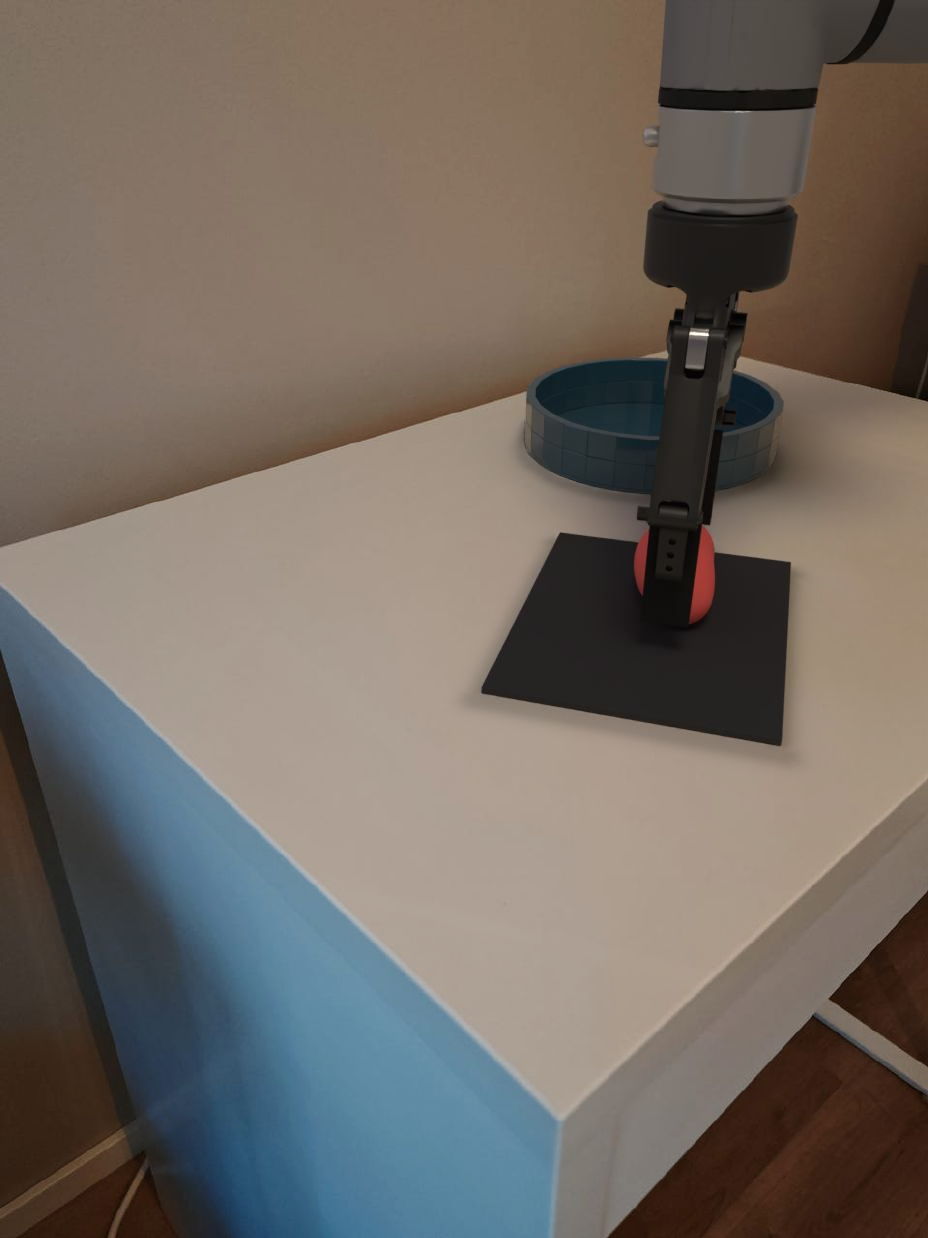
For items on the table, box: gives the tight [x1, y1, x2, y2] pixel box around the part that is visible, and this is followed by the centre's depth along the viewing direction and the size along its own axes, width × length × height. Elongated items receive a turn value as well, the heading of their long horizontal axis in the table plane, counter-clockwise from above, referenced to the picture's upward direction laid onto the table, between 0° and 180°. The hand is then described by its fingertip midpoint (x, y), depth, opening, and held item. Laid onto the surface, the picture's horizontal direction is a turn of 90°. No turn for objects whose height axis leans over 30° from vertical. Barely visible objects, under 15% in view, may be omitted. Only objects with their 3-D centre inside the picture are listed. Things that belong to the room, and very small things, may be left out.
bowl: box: [524, 356, 785, 495], centre depth 84 cm, size 22×22×4 cm
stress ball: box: [634, 525, 715, 624], centre depth 60 cm, size 5×9×6 cm, turn 157°
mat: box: [481, 531, 792, 746], centre depth 59 cm, size 16×20×1 cm
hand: (678, 567), depth 60 cm, fingers open, 13 cm apart
